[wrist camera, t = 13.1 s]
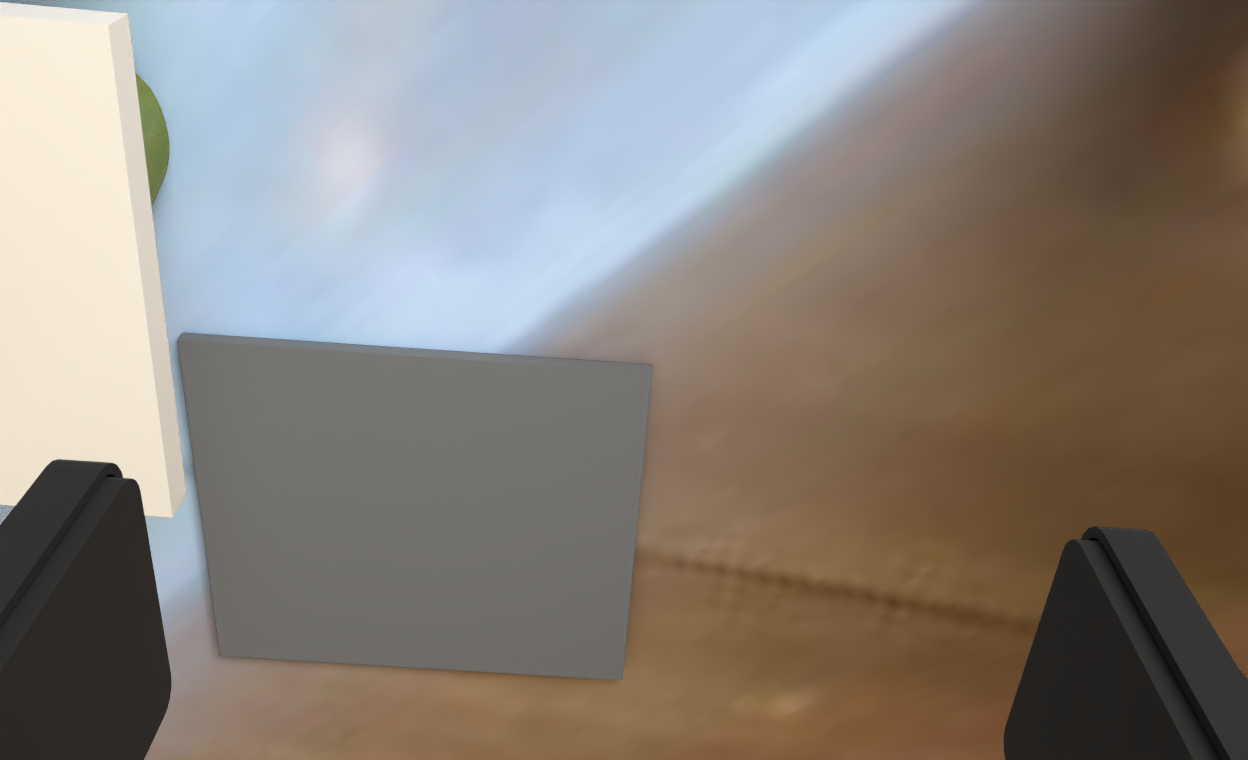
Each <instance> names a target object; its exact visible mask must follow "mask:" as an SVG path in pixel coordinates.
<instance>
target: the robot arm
mask: <svg viewBox="0 0 1248 760" xmlns="http://www.w3.org/2000/svg"><path fill="white" fill-rule="evenodd" d="M170 693H171V672H170V666H169V660H168V654H167V648H166V642H165V636H164V630H163V624H162V618H161V612H160V606H159V600H158V594H157V588H156V582H155V576H154V570H153V563H152V557H151V551H150V545H149V539H148V533H147V527H146V521H145V515H144V509H143V503H142V497H141V491H140V488H139V484H138V483H137V481H136V480H134V479H131V478H123V475H122V471H121V470H120V468H119V467H118V465H116V464H114V463H109V462H94V461H78V460H63V459H57V460H54V461H51V462H50V463H49V464H48V465H47V466H46V467H45V469H44V470H43V471H42V472H41V474H40V475H39V476H38V478H37V479H36V480H35V481H34V483H33V484H32V485H31V487H30V488H29V489H28V490H27V492H26V493H25V494H24V496H23V497H22V498H21V499H20V501H19V502H18V503H17V505H16V506H15V507H14V508H13V510H12V511H11V512H10V514H9V515H8V516H7V517H6V519H5V520H4V521H3V523H2V524H1V525H0V760H144V758H145V756H146V754H147V752H148V750H149V748H150V745H151V743H152V741H153V739H154V737H155V735H156V733H157V731H158V728H159V726H160V724H161V722H162V720H163V718H164V716H165V713H166V710H167V707H168V704H169V700H170ZM1004 753H1005V760H1248V680H1247V678H1246V677H1245V676H1244V675H1243V674H1242V672H1241V671H1240V670H1239V669H1238V667H1237V665H1236V664H1235V662H1234V660H1233V659H1232V657H1231V656H1230V654H1229V652H1228V651H1227V649H1226V648H1225V646H1224V644H1223V643H1222V641H1221V640H1220V638H1219V636H1218V635H1217V633H1216V632H1215V630H1214V628H1213V627H1212V625H1211V623H1210V622H1209V620H1208V619H1207V617H1206V615H1205V614H1204V612H1203V611H1202V609H1201V607H1200V606H1199V604H1198V603H1197V601H1196V599H1195V598H1194V596H1193V595H1192V593H1191V591H1190V590H1189V588H1188V587H1187V585H1186V583H1185V582H1184V580H1183V578H1182V577H1181V575H1180V574H1179V572H1178V570H1177V569H1176V567H1175V566H1174V564H1173V562H1172V561H1171V559H1170V558H1169V556H1168V554H1167V553H1166V551H1165V550H1164V548H1163V546H1162V545H1161V543H1160V542H1159V540H1158V538H1157V537H1156V536H1155V535H1154V534H1153V533H1152V532H1150V531H1148V530H1141V529H1126V528H1110V527H1095V526H1094V527H1091V528H1088V530H1087V531H1086V532H1085V533H1084V534H1083V536H1082V539H1081V540H1076V539H1073V540H1070V541H1069V542H1068V543H1067V544H1066V545H1065V548H1064V550H1063V552H1062V555H1061V558H1060V561H1059V565H1058V568H1057V571H1056V574H1055V577H1054V580H1053V583H1052V586H1051V589H1050V592H1049V595H1048V598H1047V601H1046V604H1045V607H1044V610H1043V613H1042V616H1041V620H1040V623H1039V626H1038V629H1037V632H1036V635H1035V638H1034V641H1033V644H1032V647H1031V650H1030V653H1029V656H1028V659H1027V662H1026V665H1025V668H1024V672H1023V675H1022V678H1021V681H1020V684H1019V687H1018V690H1017V693H1016V696H1015V699H1014V702H1013V705H1012V708H1011V711H1010V714H1009V717H1008V720H1007V723H1006V727H1005V732H1004Z"/></svg>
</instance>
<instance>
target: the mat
mask: <svg viewBox="0 0 1248 760" xmlns="http://www.w3.org/2000/svg"><path fill="white" fill-rule="evenodd" d="M177 341H178V349H179V356H180V363H181V371H182V378H183V386H184V393H185V400H186V408H187V415H188V423H189V430H190V437H191V445H192V452H193V460H194V467H195V474H196V482H197V489H198V497H199V504H200V511H201V519H202V526H203V533H204V541H205V548H206V556H207V563H208V570H209V578H210V585H211V593H212V600H213V607H214V615H215V622H216V630H217V637H218V644H219V652H220V656H231V657H248V658H264V659H280V660H297V661H313V662H330V663H346V664H363V665H379V666H396V667H412V668H429V669H445V670H461V671H478V672H494V673H511V674H527V675H544V676H560V677H577V678H593V679H610V680H622V679H623V669H624V658H625V648H626V638H627V627H628V617H629V606H630V596H631V586H632V575H633V565H634V554H635V544H636V534H637V523H638V513H639V502H640V492H641V482H642V471H643V461H644V450H645V440H646V430H647V419H648V409H649V399H650V388H651V378H652V365H651V364H636V363H621V362H606V361H592V360H577V359H562V358H547V357H533V356H518V355H503V354H489V353H474V352H459V351H444V350H430V349H415V348H400V347H385V346H371V345H356V344H341V343H327V342H312V341H297V340H282V339H268V338H253V337H238V336H224V335H209V334H194V333H182V334H181V336H180V337H179V339H178V340H177Z"/></svg>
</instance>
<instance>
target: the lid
mask: <svg viewBox="0 0 1248 760" xmlns="http://www.w3.org/2000/svg"><path fill="white" fill-rule="evenodd" d="M57 459H63V460H78V461H94V462H109V463H114V464H116V465H118V467H119V468H120V470H121V471H122V475H123V478H131V479H134V480H136V481H137V483H138V484H139V488H140V491H141V497H142V503H143V509H144V515H145V516H156V517H169V518H173V516H174V514H175V513H176V511H177V509H178V507H179V506H180V504H181V502H182V500H183V499H184V497H185V495H186V486H185V478H184V469H183V461H182V453H181V445H180V437H179V428H178V420H177V412H176V404H175V396H174V387H173V379H172V371H171V363H170V354H169V346H168V338H167V330H166V322H165V313H164V305H163V297H162V289H161V281H160V272H159V264H158V256H157V248H156V240H155V231H154V223H153V215H152V207H151V199H150V190H149V182H148V174H147V166H146V158H145V149H144V141H143V133H142V125H141V117H140V108H139V100H138V92H137V84H136V76H135V67H134V59H133V51H132V43H131V35H130V26H129V18H128V14H127V13H116V12H105V11H94V10H83V9H72V8H61V7H50V6H39V5H28V4H17V3H6V2H0V505H11V506H16V505H17V503H18V502H19V501H20V499H21V498H22V497H23V496H24V494H25V493H26V492H27V490H28V489H29V488H30V487H31V485H32V484H33V483H34V481H35V480H36V479H37V478H38V476H39V475H40V474H41V472H42V471H43V470H44V469H45V467H46V466H47V465H48V464H49V463H50V462H51V461H54V460H57Z"/></svg>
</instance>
